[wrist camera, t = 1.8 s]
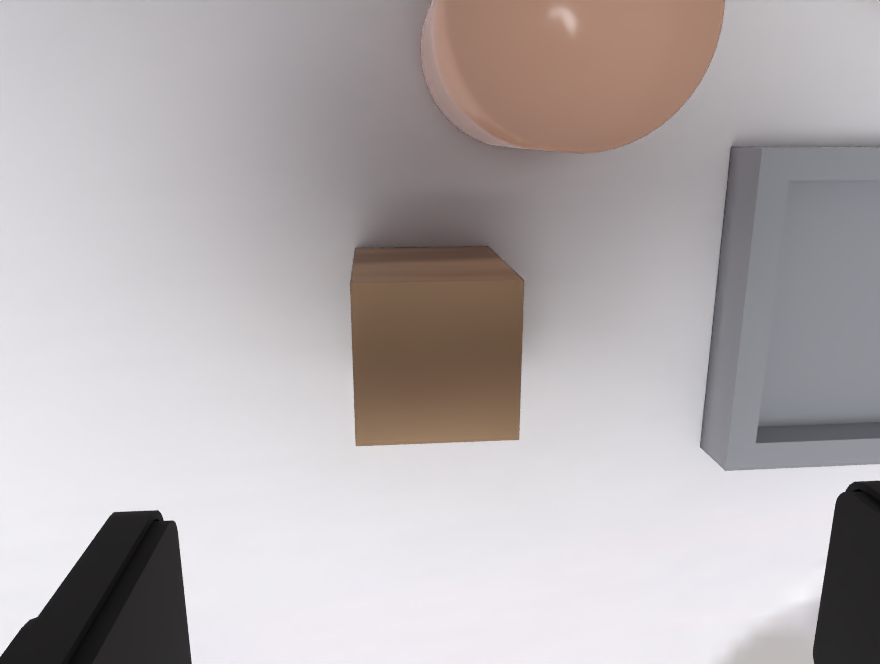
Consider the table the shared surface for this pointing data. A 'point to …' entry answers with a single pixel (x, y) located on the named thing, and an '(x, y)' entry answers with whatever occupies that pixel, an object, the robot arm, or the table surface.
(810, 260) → the tray
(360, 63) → the table surface
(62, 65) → the table surface
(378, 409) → the walnut block
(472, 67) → the peach round domed cylinder
